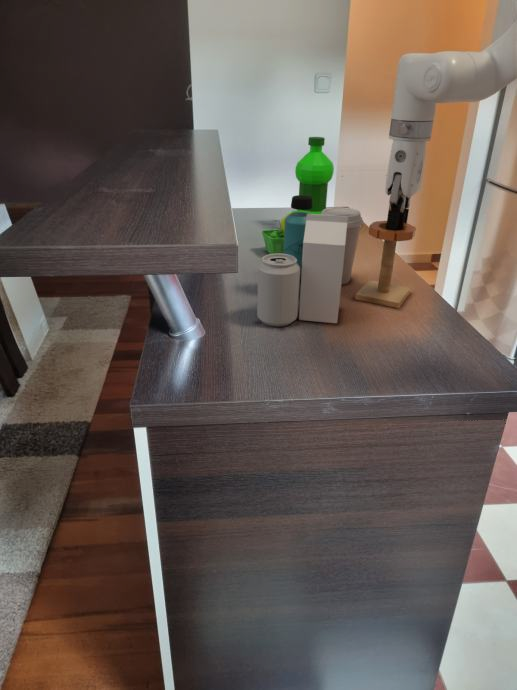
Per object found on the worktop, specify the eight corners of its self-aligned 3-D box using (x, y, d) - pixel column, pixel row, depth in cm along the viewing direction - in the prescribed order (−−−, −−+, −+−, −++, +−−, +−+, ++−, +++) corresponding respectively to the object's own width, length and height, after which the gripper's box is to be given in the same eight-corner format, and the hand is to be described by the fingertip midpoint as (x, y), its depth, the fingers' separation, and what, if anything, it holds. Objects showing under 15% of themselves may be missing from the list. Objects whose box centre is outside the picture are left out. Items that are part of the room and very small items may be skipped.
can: (292, 310, 100) (295, 250, 94) (301, 327, 93) (305, 264, 87) (254, 312, 98) (254, 251, 93) (260, 329, 92) (262, 266, 86)
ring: (417, 232, 102) (418, 224, 101) (408, 243, 95) (409, 235, 95) (376, 226, 105) (377, 218, 104) (364, 237, 99) (365, 228, 98)
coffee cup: (309, 284, 111) (314, 215, 104) (317, 269, 119) (322, 204, 112) (354, 289, 109) (362, 219, 102) (358, 274, 117) (366, 208, 110)
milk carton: (337, 324, 94) (347, 221, 85) (298, 320, 95) (304, 219, 86) (338, 308, 100) (348, 211, 91) (302, 305, 102) (308, 209, 92)
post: (409, 293, 108) (420, 231, 102) (398, 308, 101) (408, 243, 95) (368, 285, 112) (375, 225, 105) (354, 299, 105) (362, 236, 98)
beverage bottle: (273, 293, 107) (277, 195, 97) (295, 285, 111) (301, 191, 101) (296, 303, 103) (302, 201, 93) (318, 294, 107) (326, 196, 97)
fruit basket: (300, 245, 135) (303, 202, 130) (315, 256, 128) (318, 211, 123) (260, 250, 132) (260, 205, 126) (273, 261, 124) (274, 214, 119)
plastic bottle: (303, 237, 142) (309, 141, 130) (287, 227, 151) (291, 136, 139) (335, 233, 146) (343, 139, 134) (317, 224, 154) (323, 134, 142)
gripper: (421, 136, 86) (404, 243, 95) (440, 128, 99) (423, 223, 107) (377, 133, 89) (365, 236, 98) (401, 125, 102) (388, 218, 110)
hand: (395, 228), depth 103 cm, fingers closed on ring, 2 cm apart
